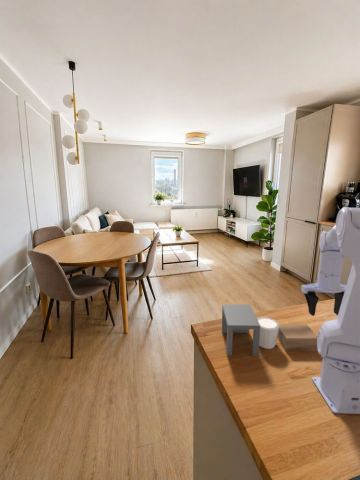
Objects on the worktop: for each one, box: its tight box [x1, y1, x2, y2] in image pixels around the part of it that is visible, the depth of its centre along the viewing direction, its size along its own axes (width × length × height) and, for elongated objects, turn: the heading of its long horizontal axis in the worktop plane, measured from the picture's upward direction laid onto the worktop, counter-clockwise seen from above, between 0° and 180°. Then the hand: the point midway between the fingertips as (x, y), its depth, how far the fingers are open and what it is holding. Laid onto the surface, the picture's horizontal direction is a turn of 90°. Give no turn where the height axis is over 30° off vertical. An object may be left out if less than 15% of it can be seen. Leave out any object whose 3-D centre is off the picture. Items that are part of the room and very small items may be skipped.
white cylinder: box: [256, 316, 280, 350], centre depth 73 cm, size 7×7×7 cm
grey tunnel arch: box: [221, 304, 260, 357], centre depth 73 cm, size 12×9×10 cm
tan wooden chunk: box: [277, 324, 318, 352], centre depth 72 cm, size 7×10×4 cm
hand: (324, 314), depth 72 cm, fingers open, 7 cm apart
